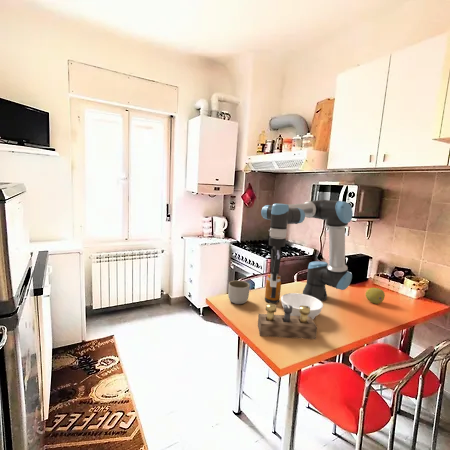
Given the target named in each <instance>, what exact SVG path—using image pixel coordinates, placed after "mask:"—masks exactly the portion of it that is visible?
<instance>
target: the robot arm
mask: <svg viewBox="0 0 450 450" xmlns="http://www.w3.org/2000/svg"><path fill="white" fill-rule="evenodd" d="M260 213H261V217H262V218H263V219H264V220H267V221H270V226H269V227H270V228H269V229H268V232H269V237H268V246H270V247H272V248H271V249H270V252H271V253H270V254H271V256H270V267H269V268H270V274H271V280H270V287H276V285H277V274H278V275H280V265H281V260H282V250H281V248H285V246H286V238H287V231H288V229H287V228H288V225H294V224H295V225H298V224H302V223H303V222H304V221H305V218H307V219H308V218H309V219H311V218H313V219H317V220H323V221H325V225H326V226H327V227H328V240H329V241H328V246H329V247H328V248H329V252H328V253H329V257H328V258H329V260H328V261H329V263H328V262H326V261H318V260H317V261H311V262H309V263H308V266H307V275H306V276H307V277H306V283H305V286H304V288H303V290H302V294H305V295H309V296H312V297H315V298H317V299H318V300H320V301H321V302H324V301H326V300H327V299H328V294H327V288H326V286H328V287H331V288H335V289H336V290H341V291H344V290H346V289H348V287H349V286H350V284H351V282H352V279H353V274H352V272H351V271H349V269H348V268H349V267H348V265H346V227H347V226H348V225H349V223H350V222H351V221H352V218H353V215H354V213H353V208H352V205H351V204H350V203H349V202H348V201H342V200H331V199H319V200H317V199H316V200H311V201H309V200H308V201H305V202H304V203H295V204H294V203H292V204H287V203H276V202H275V203H273V204H271V205H270V204H267V205H264V206H262V208H261V212H260Z"/></svg>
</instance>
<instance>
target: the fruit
mask: <svg viewBox="0 0 450 450" xmlns="http://www.w3.org/2000/svg"><path fill="white" fill-rule="evenodd" d="M365 297H366V299H367V301H369V302H370V303H372V304H375V305H379V304H382V303H383V301H384V300H385V292H384V290H383V289H381V288H379V287H370V288H368V289H367V290H366V291H365Z"/></svg>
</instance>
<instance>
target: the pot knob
mask: <svg viewBox="0 0 450 450" xmlns="http://www.w3.org/2000/svg"><path fill="white" fill-rule="evenodd" d="M283 312H284V314H283V315H284V322H290V314H291V313H292V306H290V305H284V308H283Z"/></svg>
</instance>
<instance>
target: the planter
mask: <svg viewBox="0 0 450 450" xmlns="http://www.w3.org/2000/svg"><path fill="white" fill-rule="evenodd" d="M250 285H251V284H250V283H249V282H247V281H245V280H231V281H229V282H228V290H227V293H228V294H227V295H228V296H227V297H228V299H229V301H230V302H231V303H233V304H235V305H242V304H243V305H244V304H245V303H246V302H247V301H248V300H249V295H250V287H251V286H250Z"/></svg>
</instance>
